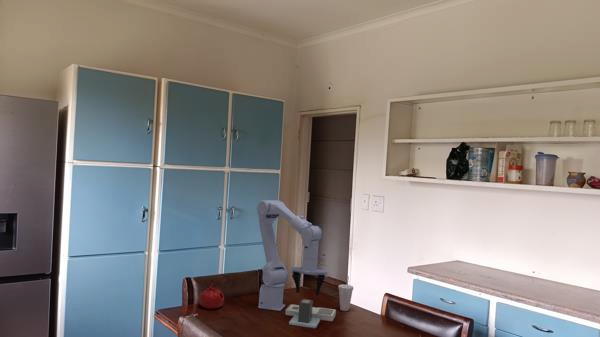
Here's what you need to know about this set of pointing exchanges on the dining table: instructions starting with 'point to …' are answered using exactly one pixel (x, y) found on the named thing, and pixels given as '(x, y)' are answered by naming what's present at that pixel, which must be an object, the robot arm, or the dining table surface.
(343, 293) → the smoothie
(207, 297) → the pomegranate
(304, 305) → the block
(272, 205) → the robot arm
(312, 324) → the tile
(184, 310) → the dining table surface
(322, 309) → the power strip
